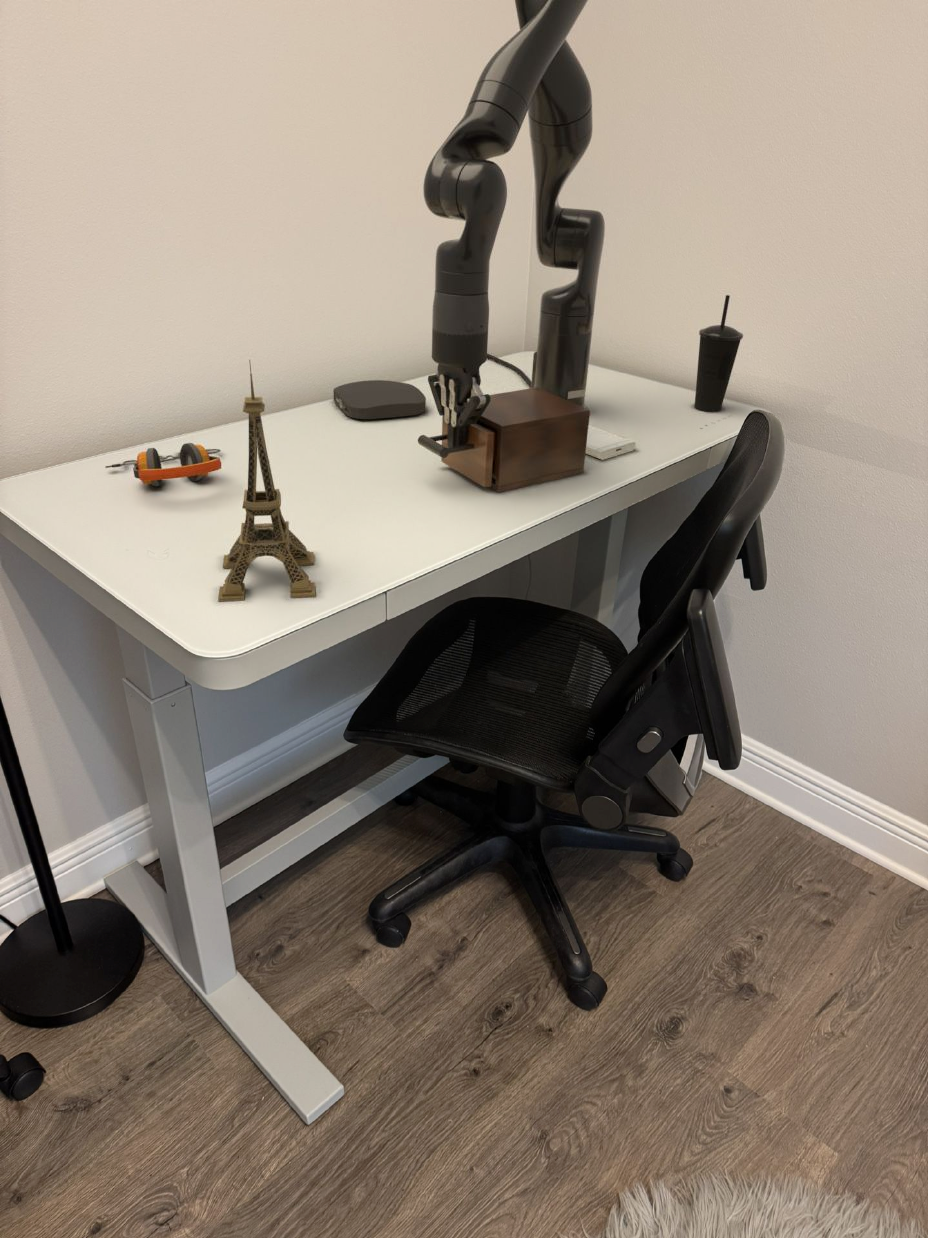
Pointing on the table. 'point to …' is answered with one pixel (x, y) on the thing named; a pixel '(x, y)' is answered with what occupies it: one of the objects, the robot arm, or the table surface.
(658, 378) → the table surface
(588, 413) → the cabinet
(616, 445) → the hard drive
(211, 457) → the headphones
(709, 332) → the drinking cup
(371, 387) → the media streaming box
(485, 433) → the drawer
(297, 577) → the eiffel tower
